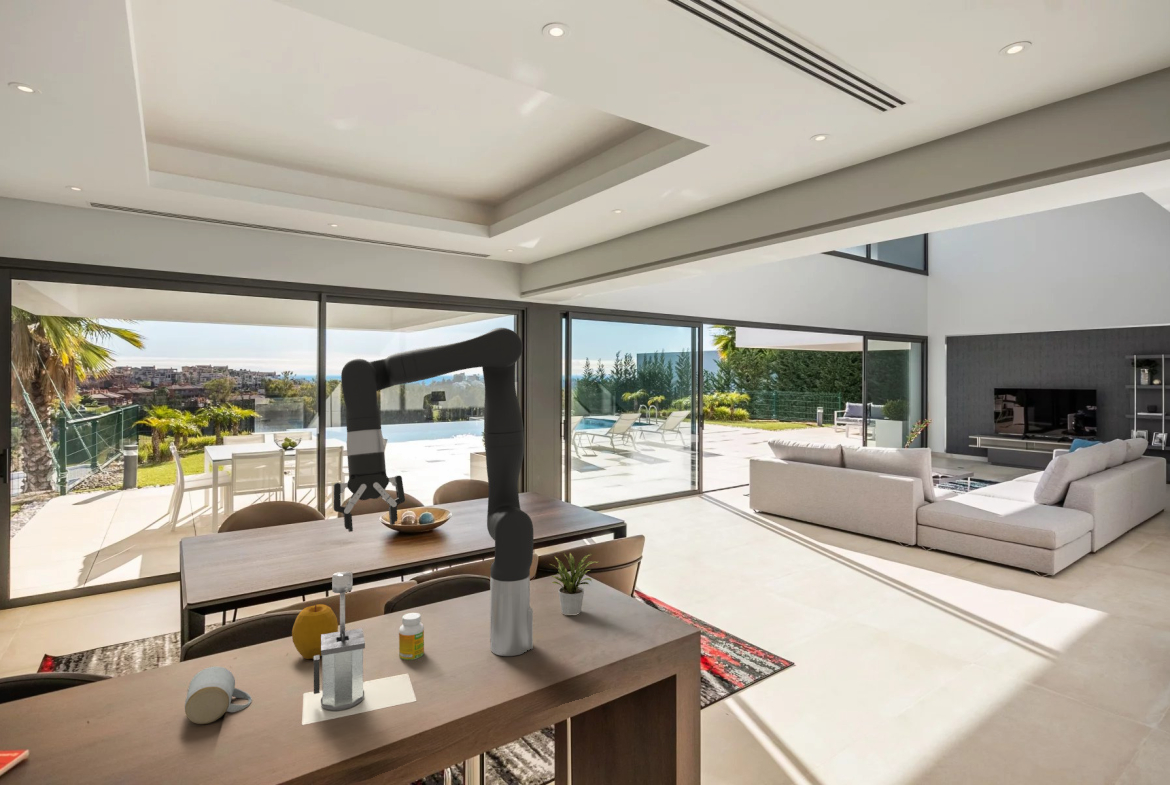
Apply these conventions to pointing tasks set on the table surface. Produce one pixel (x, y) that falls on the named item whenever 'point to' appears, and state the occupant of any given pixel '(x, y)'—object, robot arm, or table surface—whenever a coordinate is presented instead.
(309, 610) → the apple
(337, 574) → the plunger
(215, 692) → the ceramic mug
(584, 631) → the table surface
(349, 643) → the press
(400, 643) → the supplement bottle
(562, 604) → the house plant
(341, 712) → the plate
